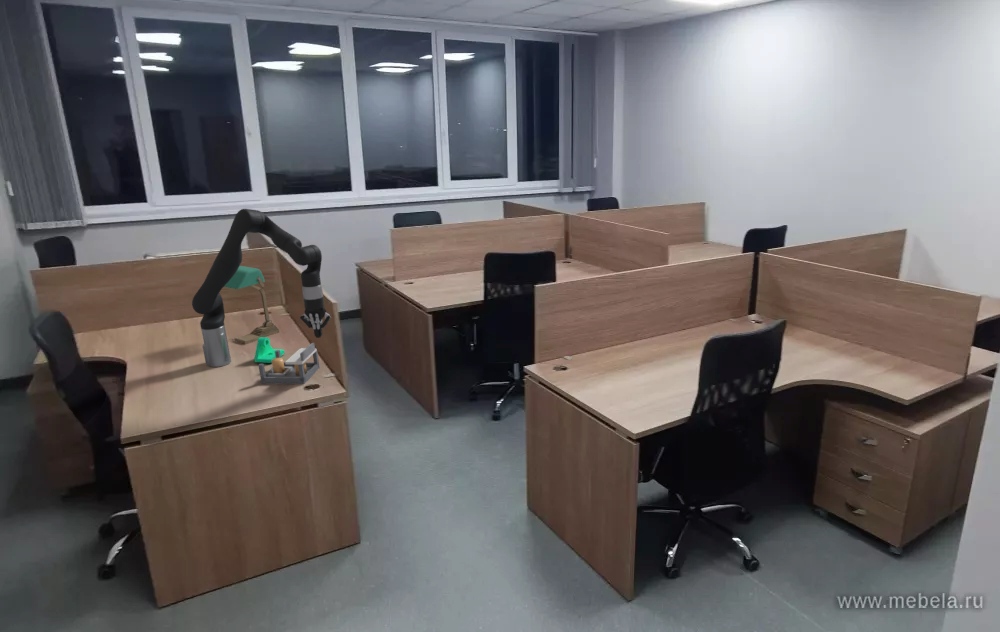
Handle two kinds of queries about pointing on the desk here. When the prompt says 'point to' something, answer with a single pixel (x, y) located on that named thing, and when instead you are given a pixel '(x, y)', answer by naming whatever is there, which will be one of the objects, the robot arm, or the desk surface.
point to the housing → (290, 372)
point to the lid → (302, 355)
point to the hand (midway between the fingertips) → (318, 337)
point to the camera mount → (265, 351)
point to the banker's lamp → (250, 278)
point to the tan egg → (278, 365)
